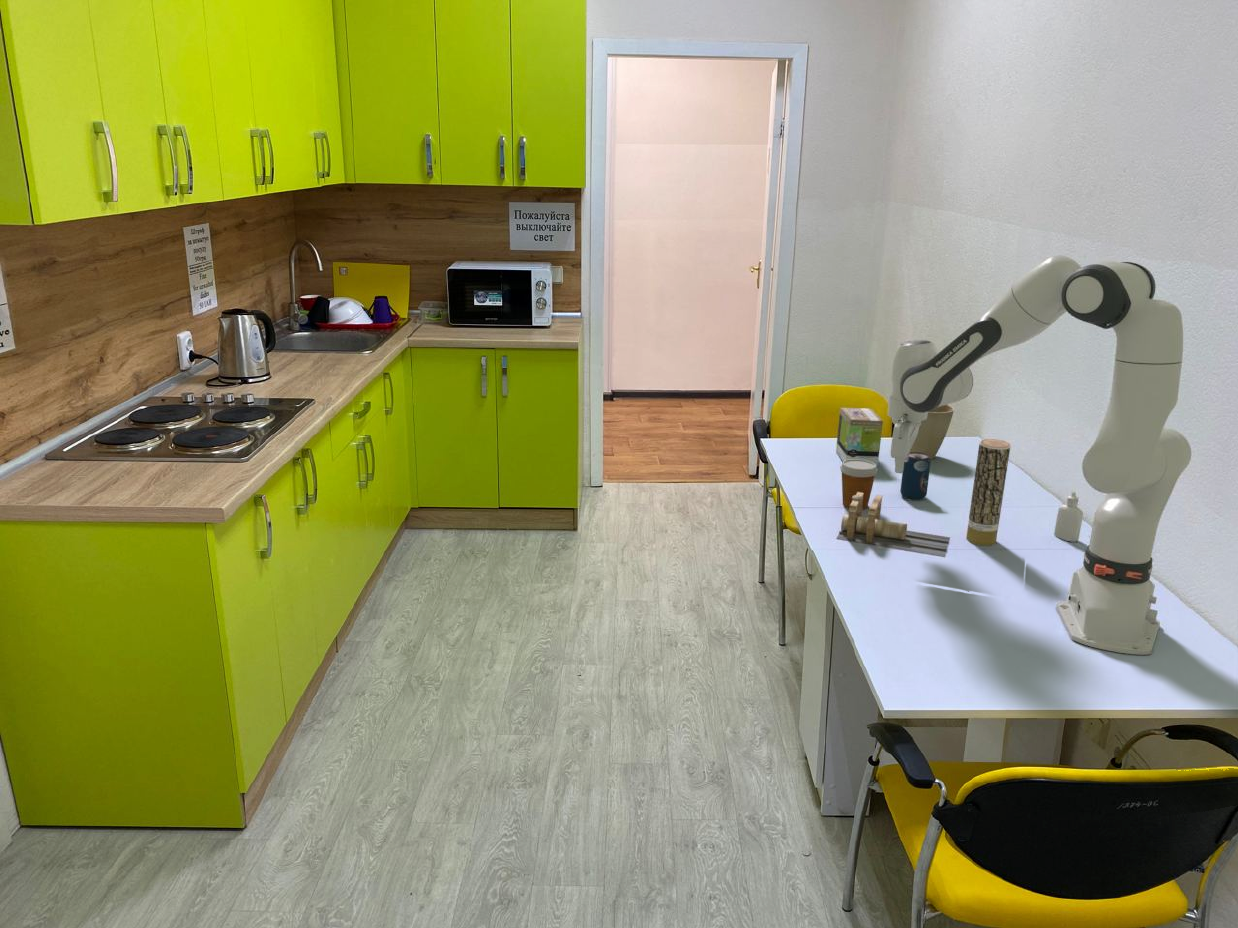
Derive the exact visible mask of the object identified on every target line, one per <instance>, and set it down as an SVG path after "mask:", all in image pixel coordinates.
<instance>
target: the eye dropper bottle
mask: <svg viewBox="0 0 1238 928" xmlns="http://www.w3.org/2000/svg"><path fill="white" fill-rule="evenodd" d="M1076 493H1077V492H1076V491H1072V492H1071V494H1070V495H1068V496H1067V498H1066V504H1061V505H1059V507H1058V509H1057V514H1056V521H1055V525H1054V533H1053V535H1054V537H1056V538H1058V539H1061V540H1063V541H1067V542H1071V543H1074V542H1078V541H1079V539H1080V533H1081V530H1082V521H1083V517H1084V512H1083V511H1082V509H1081V508H1080V507H1078V505H1079V503H1078V502H1079V497H1078V496H1077V495H1076Z"/></svg>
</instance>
